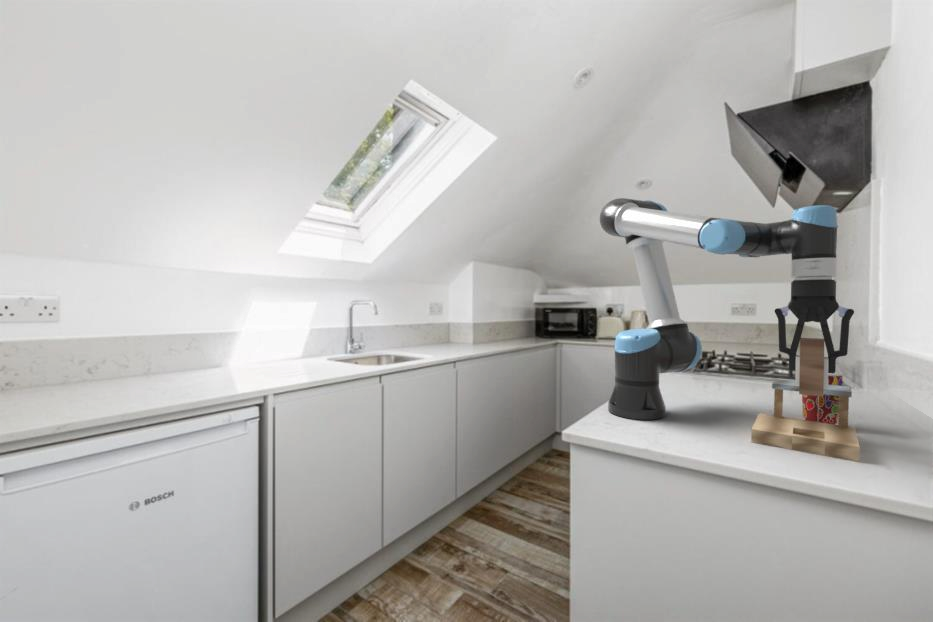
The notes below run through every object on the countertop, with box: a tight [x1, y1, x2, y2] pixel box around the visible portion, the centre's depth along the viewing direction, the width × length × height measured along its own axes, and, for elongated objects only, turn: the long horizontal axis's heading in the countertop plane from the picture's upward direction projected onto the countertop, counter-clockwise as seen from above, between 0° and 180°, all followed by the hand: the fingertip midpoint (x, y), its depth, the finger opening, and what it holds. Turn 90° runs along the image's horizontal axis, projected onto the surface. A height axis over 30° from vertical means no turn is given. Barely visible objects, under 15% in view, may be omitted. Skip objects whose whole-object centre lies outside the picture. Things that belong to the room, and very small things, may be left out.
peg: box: [798, 337, 825, 397], centre depth 92 cm, size 4×4×12 cm
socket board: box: [750, 378, 861, 463], centre depth 96 cm, size 18×16×12 cm
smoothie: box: [801, 363, 844, 425], centre depth 108 cm, size 8×8×20 cm
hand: (811, 386), depth 92 cm, fingers closed on peg, 4 cm apart
